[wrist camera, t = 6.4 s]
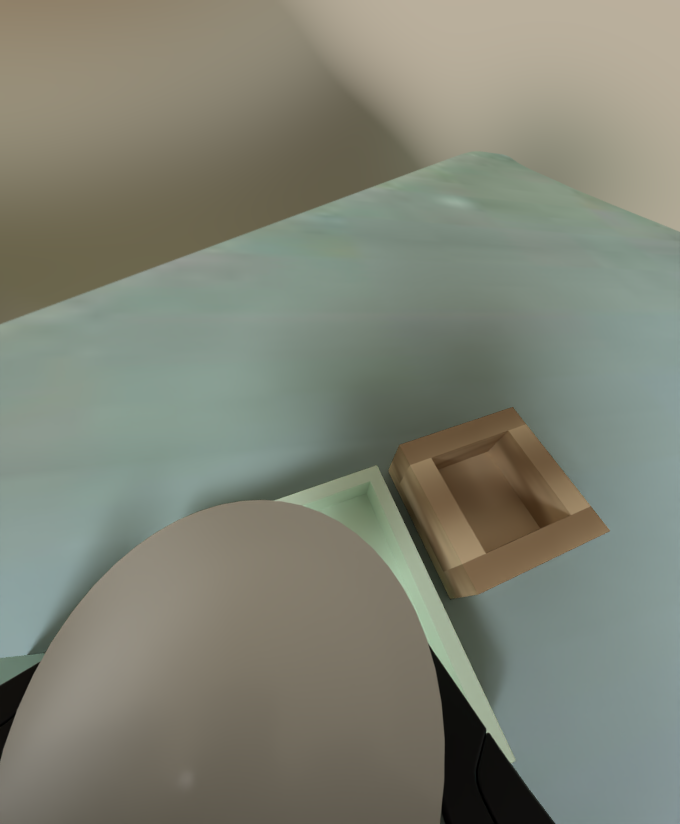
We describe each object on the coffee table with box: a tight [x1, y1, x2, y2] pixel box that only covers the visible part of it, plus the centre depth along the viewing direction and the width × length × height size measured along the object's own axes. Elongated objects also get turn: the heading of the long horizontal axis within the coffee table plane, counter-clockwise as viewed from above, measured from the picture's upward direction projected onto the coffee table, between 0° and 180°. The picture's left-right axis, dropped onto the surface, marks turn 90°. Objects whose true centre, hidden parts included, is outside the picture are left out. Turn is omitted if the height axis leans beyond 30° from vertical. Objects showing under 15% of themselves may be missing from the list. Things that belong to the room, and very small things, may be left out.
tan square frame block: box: [388, 407, 610, 599], centre depth 20 cm, size 8×8×4 cm
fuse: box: [0, 500, 445, 824], centre depth 8 cm, size 4×4×11 cm
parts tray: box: [274, 465, 516, 763], centre depth 16 cm, size 14×14×3 cm
